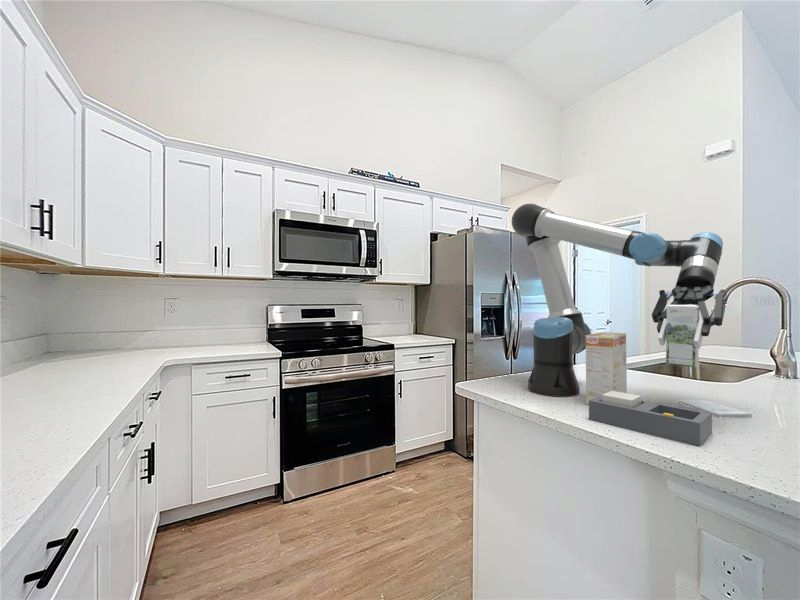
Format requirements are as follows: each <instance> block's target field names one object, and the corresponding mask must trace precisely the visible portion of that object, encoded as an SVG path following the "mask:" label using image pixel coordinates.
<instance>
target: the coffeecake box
mask: <svg viewBox="0 0 800 600" xmlns="http://www.w3.org/2000/svg"><path fill="white" fill-rule="evenodd" d="M585 337H586V349H585V405H586V404H587V406H589V400H592V399H594V398H597V397H599V396H602V394H605V393H608V392H610V391H617V392H622V393H628V391H627V390H628V388H627V387H628V382H627V381H628V380H627V377H628V375H627V374H628V373H627V372H628V371H627V333H624V332H623V333H622V332H611V331H610V332H609V331H601V332H596V333H592V334H590V335H586V336H585Z"/></svg>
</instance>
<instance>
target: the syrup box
mask: <svg viewBox="0 0 800 600" xmlns="http://www.w3.org/2000/svg"><path fill="white" fill-rule="evenodd" d="M666 308H667V326H666V341H665V346H666V348H665V351H666V352H665V364H667V365H673V366H682V367H688V368H689V367H690V368H691V367H692V368H697V367H698V366H699V361H700V360H699V359H700V357H699V349H696V348H695V344H694V338H695V334H696V330H697V326H698V322H699V320H700V309H699V306H698V305H693V304H688V305H670V304H666Z"/></svg>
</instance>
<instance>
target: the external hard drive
mask: <svg viewBox="0 0 800 600" xmlns="http://www.w3.org/2000/svg"><path fill="white" fill-rule="evenodd" d="M679 403H681V404H683V405H682V406H684V405H686V406H685V407H687V406H689V407H688V408H690V407H692V408H695V409H697V410H700V411H704V412H709V413H712V416H713V415H714V416H713V417H716V416H717V417H716V418H719V417H730V418H729V419H733V418H732V417H738V418H737V419H752V418H753V414H752V413H749V412H745V411H742V410H739V409H736V408H733V407H729V406H727V405H723V404H720V403H716V402H714V401H710V400H707V399H687V400H686V399H684V400H683V399H680V400H678V404H679ZM681 404H680V405H681ZM692 408H691V409H692ZM695 409H694V410H695Z"/></svg>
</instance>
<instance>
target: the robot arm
mask: <svg viewBox="0 0 800 600" xmlns="http://www.w3.org/2000/svg"><path fill="white" fill-rule="evenodd" d="M511 217H512V218H511V227H512V229H513V231H514V232H515V233H516V234H517V235H518V236H521V237H524V238H525V240H526V245H527V248H528V250H530V251H532V252H533V254H534V255H533V256H534V258H535V261H536V265H537V271H538V273H539V277H540V281H541V285H542V289H543V293H544V296H545V301H546V305H547V308H548V313H549V314H548V315H547V317H542V318H538V319H537V320H535V321H534V323H533V330H532V333H533V367H532V370H531V372H530V375H529V378H528V381H527V390H528V391H530V392H531V393H535V394H539V395H543V396H548V397H549V396H550V397H574V396H578V395H580V385H579V382H578V379H577V375H576V374H575V373H576V372H575V370H574V355H576V354H580V353H582V352H583V351H586V337H585V336H586V335H590V334H593V332H592V330H591V328H590V326H589V325H588V324H587V323H585V320H584V317H583V314H582V312H581V311H580V310H578V309H577V308H576V306H575V302H574V298H573V295H572V291H571V287H570V284H569V283H570V282H569V279H568V275H567V272H566V269H565V265H564V260H563V257H562V254H561V250H560V246H559V244H560V242H561V241H563V242H567V243H571V244H575V245H577V246H582V247H586V248H590V249H594V250H598V251H601V252H606V253H609V254H613V255H616V256H620V257H624V258H626V259H627V258H628V259H630V260H634V262H635V264H636V265H637V266H644V267H679V268H680V270H679V274H678V277H677V280H676V283H675V286H674V287H673V288H672V290H670V291H666V290H664V289H661V290H659V297H658V300H657V302H656V304H655V307H654V308H653V310H652V313H651V318H652V321H653V323H655V324H656V323H657V325H656V331H657V333H658V337H657V340H658V343H659V345H660V346H663V347H664V346H665V345H666V326H667V305H668V301H670V299H671V297H673V300H672V302H671V303H669V305H698V306H699V313H700V314H701V315H700V316H701V318H702V319H699V322H698V326H697V330H696V334H695V338H694V344H695V348H696V349H698V350H700V349H701V346H702V341H703V337H709V336H710V331H711V328H712V327H713V326H717V327H720V326H722V325H723V322H724V320H723V318H724V308H725V303H726V302H727V300H728V297H729V296H728V293H727V290H726V289H723V288H722V289H720V290H715V289H714V285H715V282H716V277H717V273H718V269H719V268H718V267H719V264H720V261H721V258H722V257H721V256H722V254H723V246H724V242H723V239H722V238H721V237H720V235H719V234H717V233H714V232H709V231H702V232H700V233H696V234H694V235H692V237H690V239H686V240H685V239H681V240H666V239H664V237H662V236H661V235H660V234H657V233H653V232H642V231H637V230H633V229H629V228H624V227H619V226H615V225H609V224H605V223H600V222H597V221H591V220H586V219H582V218H578V217H574V216H573V217H572V216H568V215H563V214H558V213H555V212H554V211H552V210H551V209H549V208H547V207H546V208H545V207H542V206H540V205H538V204H536V203H525V204H523V205H520V206H518V208H516V209H515V210H514V212H513V214H512V216H511ZM713 297H714V300H715V304H714V312H713V313H714V314H713V316H712V317H710V314H709V310H708V309H707V305H706V301H708V300H709V299H711V298H713Z"/></svg>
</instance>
